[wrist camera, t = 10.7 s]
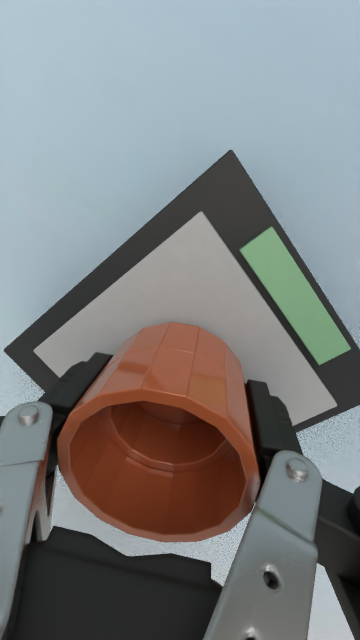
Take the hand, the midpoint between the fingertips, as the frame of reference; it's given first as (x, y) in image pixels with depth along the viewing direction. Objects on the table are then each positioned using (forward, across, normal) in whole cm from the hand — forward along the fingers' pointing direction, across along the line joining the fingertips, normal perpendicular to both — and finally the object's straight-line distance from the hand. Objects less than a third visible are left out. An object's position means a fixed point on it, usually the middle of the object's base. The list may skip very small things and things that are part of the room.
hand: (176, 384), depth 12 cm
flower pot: (+1, 0, 0) cm, 1 cm away
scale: (+4, 0, 0) cm, 4 cm away
